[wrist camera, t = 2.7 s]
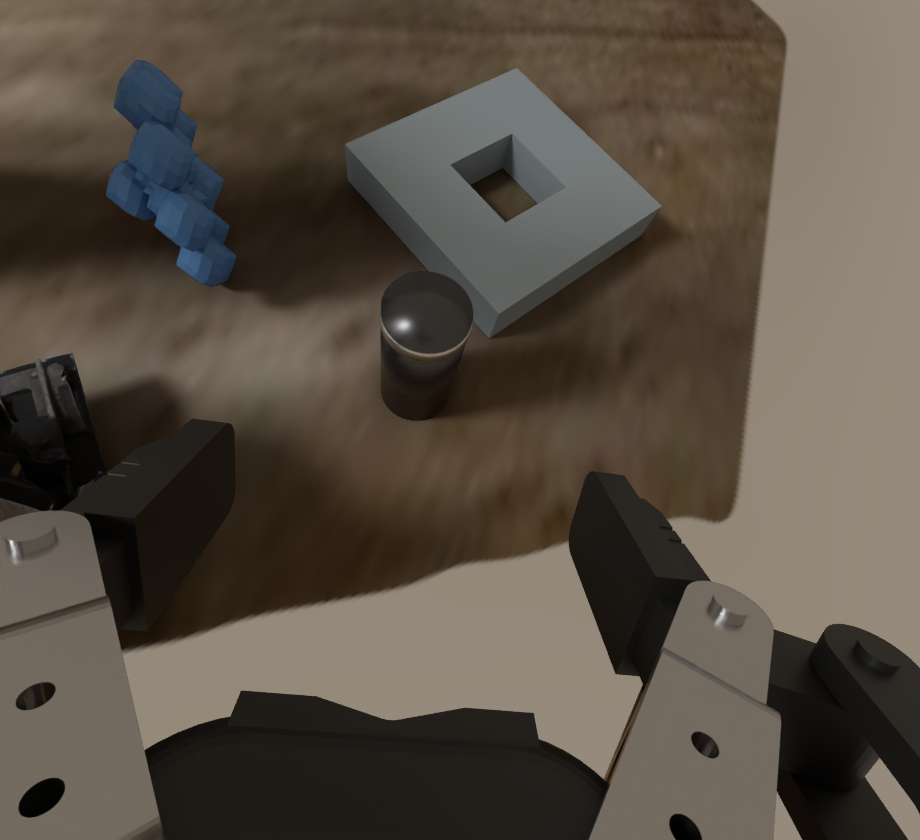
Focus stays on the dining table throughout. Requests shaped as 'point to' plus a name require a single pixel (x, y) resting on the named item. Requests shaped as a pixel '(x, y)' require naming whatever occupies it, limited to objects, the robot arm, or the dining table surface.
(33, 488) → the vintage camera
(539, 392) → the dining table surface
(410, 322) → the metal cylinder
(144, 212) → the grapes
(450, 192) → the holder
